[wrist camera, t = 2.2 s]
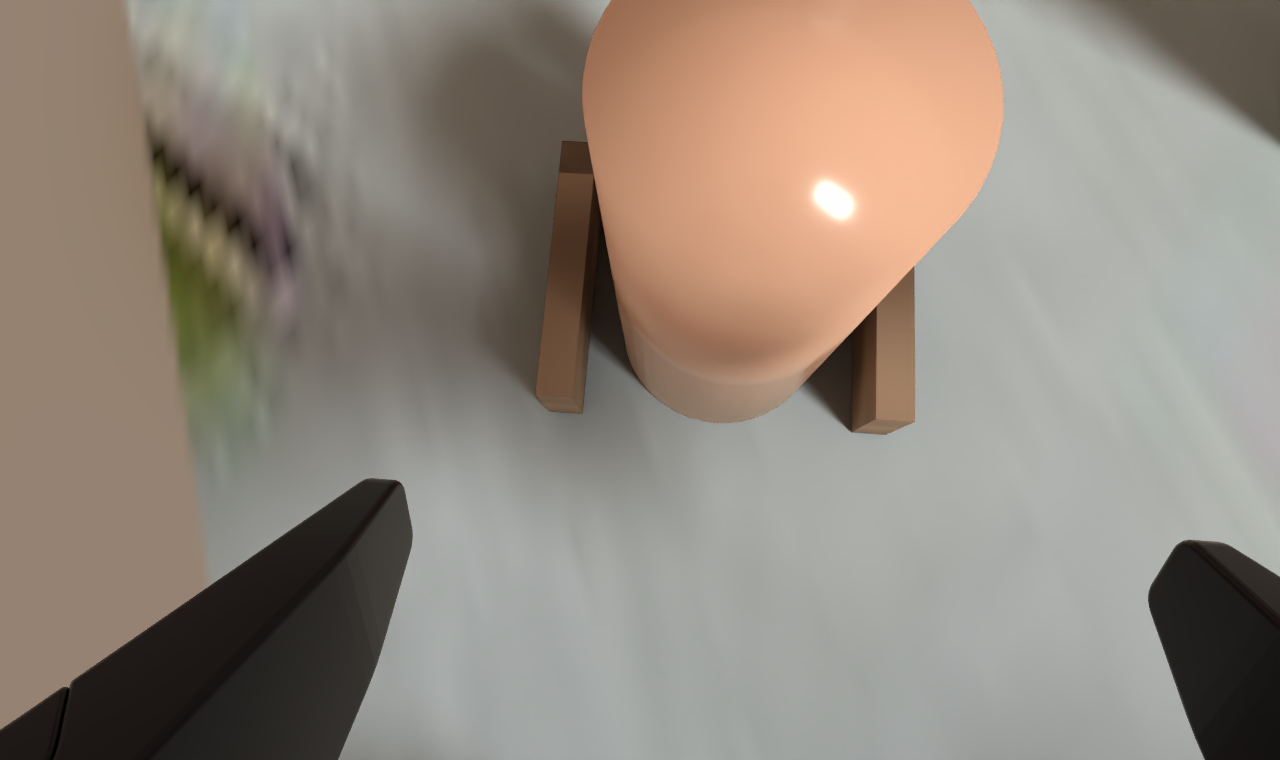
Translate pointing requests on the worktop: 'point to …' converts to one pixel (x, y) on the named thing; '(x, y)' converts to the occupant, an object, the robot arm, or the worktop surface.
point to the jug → (776, 176)
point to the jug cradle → (569, 299)
